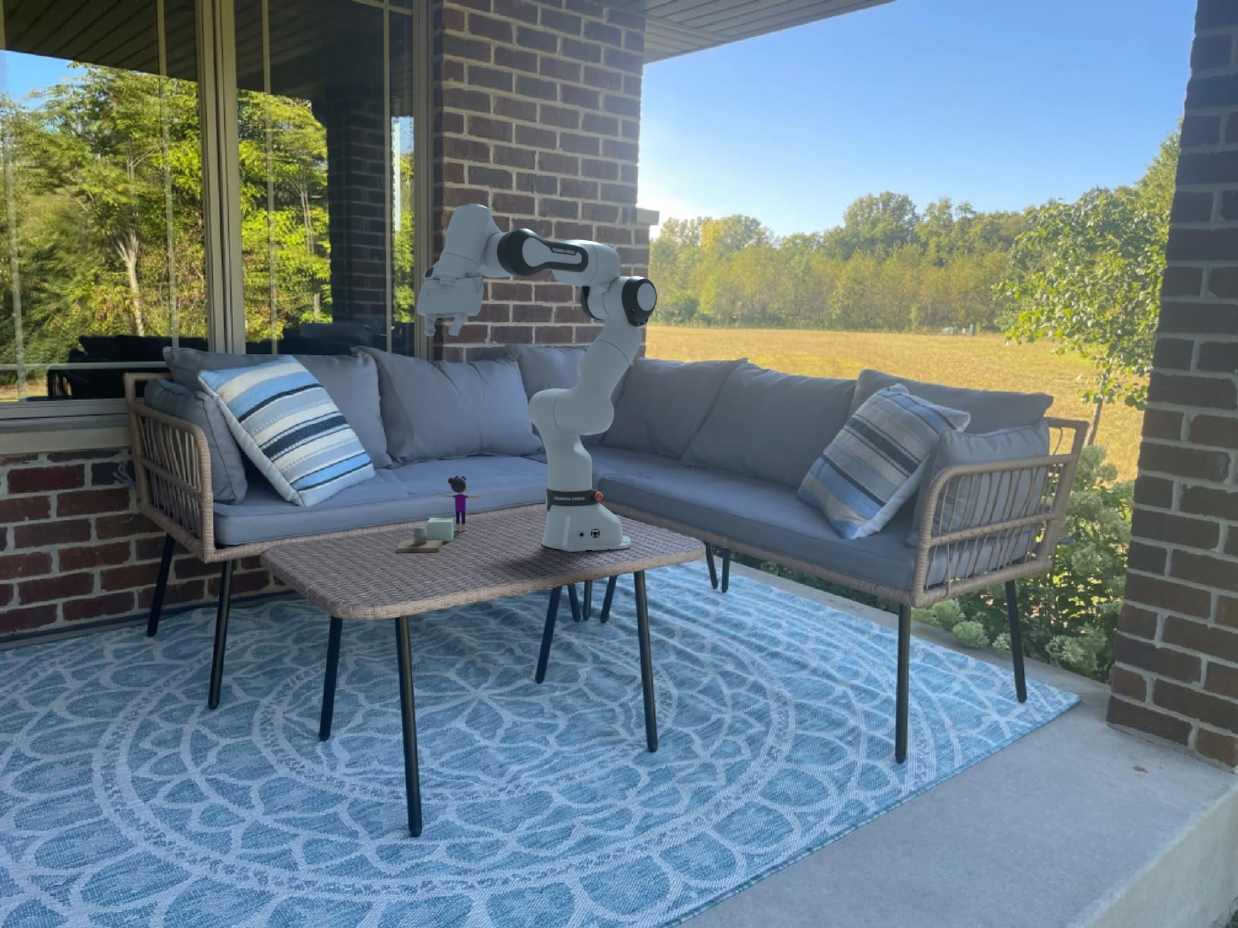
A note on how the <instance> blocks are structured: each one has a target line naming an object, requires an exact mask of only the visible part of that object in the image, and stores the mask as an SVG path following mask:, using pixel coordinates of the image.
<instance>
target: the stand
mask: <svg viewBox="0 0 1238 928" xmlns="http://www.w3.org/2000/svg"><path fill="white" fill-rule="evenodd" d="M443 544H444V541H443V539H428V538H427V527H426V526H415V527H413V539H402V540H401V542H400V543H399V544H398V545H397V547H396V553H440V550H441V548H442V546H443Z"/></svg>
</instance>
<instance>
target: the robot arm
mask: <svg viewBox="0 0 1238 928" xmlns="http://www.w3.org/2000/svg"><path fill="white" fill-rule="evenodd" d="M444 238H445V240H444V241H445V244H444V248H443V250H442V251H441V254H440V256H439V260H438V261H436V262H435V263H434V264H433V265H431V267H429V268H427V269H426V270H425V271H424V272H423V275H422V279H423V280H425V281H424V282H423V283H422V285H421V288H420V290H419V294H418V299H417V301H416V302H417V303H416V313H417V315H420V316H421V317H422V316H423V317H424V331H423V333H424V335H425V336H427V337H434V336H435V333H436V328H435V323H436V322H437V319H439V318H441V319H443V318H454V320H453V323H452V324H451V325H449V327H448V330H447V333H448V334H449V335H450V336H455V337H457V336H459V334H460V331H461V328H462V327H463V325H464V324H465V323H466V321H467V317H476V316H478V314H479V313H480V312H481V308H482V305H483V299H484V294H485V293H484V291H485V286H484V280H485V279H484V277H485V278H489V279H492V278H493V279H494V278H495V279H497V278H508V277H509V278H510V277H530V276H533V275H535V274H538V273H539V272H542V271H544V270H548V271H551V272H552V275H553V276H554V277H555V279H556V280H557V282H560V283H563V284H567V285H570V286H578V287H581V290H580V306H581V309H582V311H583V313H584V315H586V317H588V318H590V319H593V320H596V321H604V325H603V328H602V330H601V332H600V333H599V334H598V335H597V336H596V338H595V339H594V340H593V342H592V343H591V345H590V346H589V347H588V349H587V350H586V351H585V353H584V354H583V355H582V357H581V358H580V360H579V361H578V363H577V364H576V374H577V376H578V381H577V383H576V384H575V385H574V386H573V387H572V388H548V389H543V390H540V391H538V392H536V393H534V394H533V395H532V397H531V398H530V400H529V403H528V407H527V414H528V418H529V420H530V422H531V424H533V425H534V426H535V428H536V429H537V430H538V433H539V434H540V437H541V440H542V443H543V446H544V449H545V454H546V461H547V487H546V493H545V508H546V522H545V528H544V534H543V538H542V541H541V545H543V547H547V548H550V549H557V550H562V551H564V552H571V553H572V552H587V551H586V550H592V551H607V550H608V549H609V550H623V549H628V548H630V547H631V546H632V541H631V538H630V537H629V536H628V535H626V534H624V533H623V526H622V524H621V520H620V519H619V517H618V516H617V515H616V514H614V513H613V512H612V511H610V510H609V508H606V507H605V506H604V505H603V504H601V503H600V502H601V501H602V499H604V494H603V493H602V492H601V491H599V490H598V489H596V488H594V487H593V459H592V456H591V454H590V453H589V452H588V451H587V450H586V448H585V447H584V445H583V444H582V441H581V438H580V436H591V435H597V434H603V433H605V432H607V431H608V430H609V428H610V427H611V425H612V424H613V421H614V419H615V418H614V417H615V408H614V407H615V406H614V404H613V403H612V400H611V398H612V394H613V392H614V390H615V388H616V386H617V384H618V383H619V381H620V380H621V378H622V377H623V375H624V374H625V372H626V371H627V370H628V368H629V366H630V365H631V364H632V361H633V360H634V358H635V356H636V355H637V353H638V351H639V348H640V346H641V343H642V341H643V340H642V338H643V335H642V331H641V329H640V327H642V326H644V325H646V324H647V322H648V321H649V318H650V317H651V315H652V314H653V312H654V310H655V308H656V305H657V301H658V294H657V289H656V286H655V284H654V283H653V282H652V280H650V279H649V278H646V277H643V276H638V275H634V276H626V275H625V276H623V275H622V273H620V272H621V267H622V262H621V257H620V255H619V253H618V252H617V250H615V248H613V247H610V246H609V245H606V244H603V243H600V242H597V241H591V240H586V239H567V240H561V241H558V242H557V241H552V240H547V239H545V238H543V237H541V236H540V235H539V234H537V233H535V231H532V230H531V229H528V228H518V229H515V230H511V231H506V232H502V230H501V229H499V227H498V226H497V224H496V222H495V221H494V219H493V215H492V210H491V209H490V208H488V207H487V206H485V205H483V204H479V203H472V202H471V203H463V204H460V205H458V206H457V207H456V208H455V209H454V211H453V213H452V216H451V218H450V220H449V223H448V226H447V230H446V232H445V237H444ZM483 276H484V277H483Z"/></svg>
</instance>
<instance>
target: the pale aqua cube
mask: <svg viewBox="0 0 1238 928" xmlns="http://www.w3.org/2000/svg"><path fill="white" fill-rule="evenodd" d="M454 520H455V519H454V517H429V519H428V521H427V539H443V542H453V540H454V537H455V530H454V529H455V525H454V524H455V521H454Z"/></svg>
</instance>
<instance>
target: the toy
mask: <svg viewBox="0 0 1238 928" xmlns="http://www.w3.org/2000/svg"><path fill="white" fill-rule="evenodd" d="M447 479H448V480H447V482H448V485H450V488H451V489H452V491H453V492H454V493H456V494H453V495H452V494H442V495H441V497H443V498H454V510H455V524H456V525H455V526H456V527H455V528H456V531H457V532H459V531H462V532H465V531H466V530H467V529H466V511H467V510H466V509H467V506H466V505H467V499H470V498H471V499H472V498H473V499H479V498H480V496H479V495H465V494H463V493H465V492H466V491H467V490H468V485H467V482H466V480H467V479H466V477H465V476H463V475H462V476H460V477H459V476H458V475H456V476H455V477H448V478H447ZM460 520H461V521H460ZM460 523H461V526H460ZM460 527H461V528H460Z"/></svg>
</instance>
